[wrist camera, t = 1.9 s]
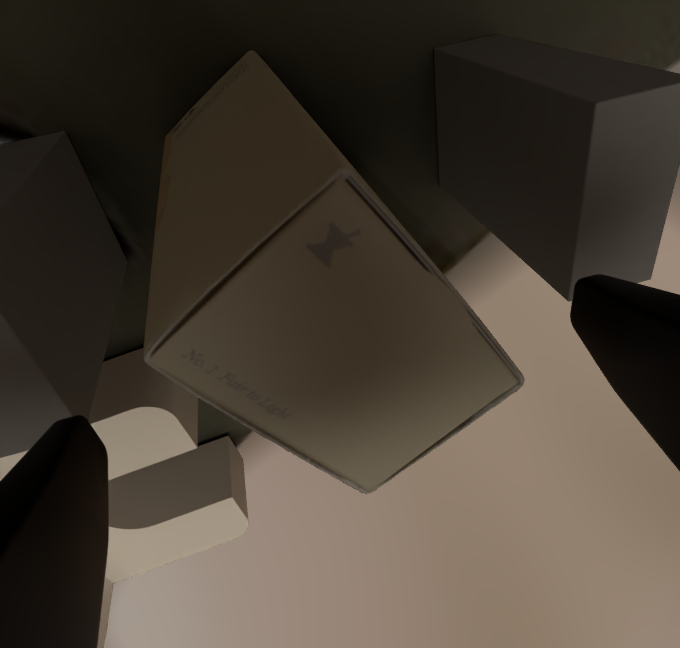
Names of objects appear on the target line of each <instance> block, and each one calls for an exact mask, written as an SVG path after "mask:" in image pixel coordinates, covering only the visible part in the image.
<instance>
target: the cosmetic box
mask: <svg viewBox="0 0 680 648" xmlns="http://www.w3.org/2000/svg"><path fill="white" fill-rule="evenodd" d="M143 359H144V362H145V363H147V364H148V365H149V366H151V367H152V368H153V369H155V370H156V371H158V372H160V373H161V374H163V375H164V376H166V377H167V378H169V379H170V380H172V381H173V382H175V383H176V384H178V385H180V386H181V387H183V388H184V389H186V390H187V391H189V392H190V393H192V394H193V395H195V396H196V397H198V398H200V399H202V400H203V401H205V402H206V403H208V404H210V405H212V406H213V407H215V408H216V409H218V410H220V411H221V412H223V413H224V414H226V415H228V416H230V417H232V418H233V419H235V420H237V421H238V422H240V423H241V424H243V425H244V426H246V427H248V428H250V429H251V430H253V431H254V432H256V433H258V434H259V435H261V436H263V437H264V438H267V439H269V440H271V441H272V442H274V443H276V444H278V445H279V446H281V447H282V448H284V449H285V450H286V451H288V452H291V453H293V454H294V455H296V456H298V457H299V458H301V459H303V460H305V461H306V462H308V463H310V464H311V465H313V466H315V467H316V468H318V469H320V470H322V471H324V472H326V473H328V474H330V475H331V476H333V477H334V478H336V479H338V480H340V481H342V482H343V483H345V484H347V485H349V486H351V487H353V488H354V489H356V490H358V491H360V492H362V493H365V494H367V493H371V492H373V491H375V490H376V489H378V488H379V487H381V486H382V485H384V484H385V483H387V482H388V481H389V480H391V479H392V478H394V477H395V476H396V475H398V474H399V473H400V472H401V471H403V470H405V469H406V468H408V467H409V466H411V465H412V464H414V463H415V462H416V461H418V460H419V459H421V458H422V457H424V456H425V455H427V454H428V453H430V452H431V451H432V450H433V449H435V448H437V447H438V446H440V445H441V444H443V443H444V442H445V441H446V440H448V439H449V438H451V437H452V436H454V435H455V434H457V433H458V432H460V431H461V430H462V429H464V428H465V427H467V426H468V425H469V424H471V423H472V422H473V421H475V420H476V419H478V418H479V417H481V416H482V415H483V414H485V413H486V412H487V411H489V410H490V409H492V408H493V407H495V406H496V405H498V404H499V403H501V401H503V400H505V399H506V398H507V397H509V396H510V395H511V394H513V393H514V392H516V391H517V390H518V389H519V388H520V387H521V386H522V385H523V383H524V377H523V375H522V373H521V372H520V370H519V369H518V368H517V367H516V365H515V364H514V363H513V361H512V360H511V359H510V357H509V356H508V355H507V353H506V352H505V351H504V349H503V348H502V347H501V345H500V344H499V343H498V342H497V340H496V339H495V338H494V337H493V335H492V334H491V333H490V331H489V330H488V329H487V327H486V326H485V325H484V324H483V322H482V321H481V320H480V319H479V317H478V316H477V315H476V314H475V312H474V311H473V310H472V309H471V307H470V306H469V305H468V304H467V302H466V301H465V300H464V299H463V297H462V296H461V295H460V294H459V293H458V291H457V290H456V289H455V288H454V287H453V286H452V284H451V283H450V282H449V281H448V279H447V278H446V277H445V276H444V275H443V273H442V272H441V271H440V270H439V269H438V267H437V266H436V265H435V264H434V263H433V262H432V260H431V259H430V258H429V257H428V256H427V254H426V253H425V252H424V251H423V250H422V248H421V247H420V246H419V245H418V244H417V242H416V241H415V240H414V239H413V238H412V236H411V235H410V234H409V233H408V232H407V231H406V229H405V228H404V227H403V226H402V225H401V223H400V222H399V221H398V220H397V219H396V217H395V216H394V215H393V214H392V213H391V211H390V210H389V209H388V208H387V207H386V205H385V204H384V203H383V202H382V201H381V200H380V198H379V197H378V196H377V195H376V194H375V192H374V191H373V190H372V189H371V188H370V186H369V185H368V184H367V183H366V182H365V180H364V179H363V178H362V177H361V176H360V174H359V173H358V172H357V171H356V170H355V168H354V167H353V166H352V165H351V164H350V162H349V161H348V160H347V159H346V158H345V157H344V155H343V154H342V153H341V152H340V151H339V149H338V148H337V147H336V146H335V145H334V144H333V142H332V141H331V140H330V139H329V138H328V136H327V135H326V134H325V133H324V132H323V131H322V129H321V128H320V127H319V126H318V125H317V124H316V122H315V121H314V120H313V119H312V118H311V117H310V115H309V114H308V113H307V112H306V111H305V109H304V108H303V107H302V106H301V105H300V103H299V102H298V101H297V100H296V99H295V97H294V96H293V95H292V94H291V93H290V91H289V90H288V89H287V88H286V87H285V85H284V84H283V83H282V82H281V81H280V80H279V78H278V77H277V76H276V75H275V74H274V72H273V71H272V70H271V69H270V68H269V67H268V65H267V64H266V63H265V62H264V61H263V60H262V59H261V57H260V56H259V55H258V54H257V53H256V52H255V51H254V50H250V51H248V52H247V53H246V54H245V55H244V56H243V57H242V58H241V59H240V60H239V61H238V62H237V63H236V64H235V65H234V66H233V67H232V68H231V69H230V70H229V71H228V72H227V73H226V74H225V75H224V76H223V77H222V78H221V79H220V80H219V81H217V82H216V83H215V84H214V85H213V86H212V88H211V89H210V90H209V91H208V92H207V93H206V94H205V95H204V96H203V97H202V98H201V99H200V100H199V101H198V102H197V103H196V104H195V105H194V106H193V107H192V108H191V109H190V110H189V111H188V112H187V113H186V115H185V116H184V117H183V118H182V119H181V120H180V121H179V122H178V123H177V124H176V126H175V127H174V128H173V129H172V130H171V131H170V132H169V133H168V134H167V136H166V137H165V140H164V149H163V159H162V168H161V178H160V188H159V196H158V204H157V215H156V224H155V234H154V246H153V255H152V265H151V275H150V287H149V296H148V309H147V318H146V326H145V338H144V349H143Z"/></svg>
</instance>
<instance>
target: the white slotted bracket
mask: <svg viewBox="0 0 680 648" xmlns="http://www.w3.org/2000/svg"><path fill="white" fill-rule="evenodd" d="M143 349H144V348H141V349H138V350H135V351H133V352H130V353H127V354H124V355H121V356H119V357H116V358H113V359H110V360H107V361H105V362H103V364H102V368H101V372H100V376H99V380H98V384H97V388H96V392H95V396H94V400H93V404H92V408H91V412H90V416H89V423H90V424H91V426H92V427H93V429H94V430H95V432H96V433H97V435H98V436H99V438H100V439H101V441H102V442H103V443H104V445H105V447H106V450H107V454H108V497H109V541H108V553H107V563H106V572H105V581H104V590H103V600H102V609H101V618H100V627H99V636H98V645H97V648H103V647H104V642H105V638H106V633H107V626H108V618H109V611H110V604H111V596H112V590H113V584H114V583H116V582H119V581H122V580H125V579H127V578H130V577H133V576H135V575H138V574H141V573H143V572H146V571H149V570H152V569H155V568H157V567H160V566H162V565H165V564H168V563H171V562H174V561H176V560H179V559H182V558H184V557H187V556H190V555H193V554H195V553H198V552H201V551H204V550H206V549H209V548H211V547H215V546H217V545H220V544H223V543H225V542H228V541H231V540H234V539H236V538H238V537H239V536H241V535H242V534H243V533H244V532H245V531H246V530H247V528H248V512H247V501H246V490H245V477H244V466H243V459H242V457H241V455H240V454H239V452H238V450H237V449H236V447H235V446H234V444H233V442H232V441H231V439H230V438H229V436H226V437H223V438H220V439H217V440H215V441H212V442H209V443H206V444H204V445H201V446H198V397H196V396H195V395H193V394H192V393H190V392H189V391H187V390H186V389H184V388H183V387H181V386H180V385H178V384H176V383H175V382H173V381H172V380H170V379H169V378H167V377H166V376H164V375H163V374H161V373H160V372H158V371H156V370H155V369H153V368H152V367H151V366H149V365H148V364H147V363H145V362H144V359H143ZM28 451H29V450H28ZM28 451H24V452H21V453H17V454H13V455H10V456H6V457H3V458H0V481H1V480H2V479H3V478H4V477H5V476H6V474H7V473H8V472H9V471H10V470H11V469H12V468H13V467H14V466H15V465H16V464H17V463H18V461H19V460H20V459H21V458H22V457H23V456H24V455H25V454H26V453H27V452H28Z"/></svg>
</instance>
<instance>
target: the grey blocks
mask: <svg viewBox="0 0 680 648" xmlns="http://www.w3.org/2000/svg"><path fill="white" fill-rule="evenodd" d="M434 68H435V92H436V116H437V140H438V164H439V185H440V186H441V187H442V188H443V189H444V190H445V191H446V192H448V193H449V194H450V195H451V196H452V197H453V198H454V199H455V200H456V201H458V202H459V203H460V204H461V205H462V206H463V207H464V208H465V209H466V210H468V211H469V212H470V213H471V214H472V215H473V216H474V217H475V218H476V219H478V220H479V221H480V222H481V223H482V224H483V225H484V226H485V227H486V228H487V229H489V230H490V231H491V232H492V233H493V234H494V235H495V236H496V237H497V238H499V239H500V240H501V241H502V242H503V243H504V244H505V245H506V246H507V247H509V248H510V249H511V250H512V251H513V252H514V253H515V254H516V255H517V256H519V257H520V258H521V259H522V260H523V261H524V262H525V263H526V264H527V265H528V266H530V267H531V268H532V269H533V270H534V271H535V272H536V273H537V274H539V275H540V276H541V277H542V278H543V279H544V280H545V281H546V282H547V283H548V284H550V285H551V286H552V287H553V288H554V289H555V290H556V291H557V292H558V293H560V294H561V295H562V296H563V297H564V298H565V299H566V300H567V301H572V299H573V292H574V286H575V283H576V282H577V280H579V279H581V278H584V277H587V276H591V275H595V274H604V275H607V276H611V277H615V278H619V279H622V280H626V281H630V282H634V283H639V282H643V281H646V280H649V279H651V276H652V272H653V268H654V264H655V260H656V256H657V252H658V248H659V244H660V240H661V236H662V232H663V228H664V224H665V220H666V216H667V213H668V209H669V205H670V201H671V197H672V193H673V189H674V185H675V181H676V177H677V173H678V169H679V165H680V74H679V73H674V72H670V71H665V70H660V69H656V68H651V67H647V66H642V65H637V64H633V63H628V62H624V61H619V60H614V59H610V58H605V57H601V56H596V55H591V54H587V53H582V52H578V51H573V50H569V49H564V48H559V47H555V46H550V45H546V44H541V43H536V42H532V41H527V40H523V39H518V38H513V37H509V36H504V35H500V34H495V35H490V36H486V37H482V38H477V39H473V40H468V41H464V42H459V43H455V44H450V45H446V46H441V47H437V48H434ZM127 263H128V262H127V260H126V258H125V255H124V253H123V251H122V249H121V247H120V245H119V243H118V241H117V239H116V237H115V234H114V232H113V230H112V228H111V226H110V224H109V222H108V220H107V218H106V216H105V213H104V211H103V209H102V207H101V205H100V203H99V201H98V199H97V197H96V195H95V192H94V190H93V188H92V186H91V184H90V182H89V180H88V178H87V176H86V174H85V171H84V169H83V167H82V165H81V163H80V161H79V159H78V157H77V155H76V153H75V150H74V148H73V146H72V144H71V142H70V140H69V138H68V136H67V134H66V132H65V131H60V132H55V133H51V134H46V135H42V136H38V137H33V138H29V139H24V140H20V141H15V142H11V143H6V144H2V145H0V458H3V457H6V456H10V455H13V454H17V453H21V452H24V451H28V450H29V449H30V448H31V447H32V446H33V445H34V444H35V443H36V442H37V441H38V440H39V439H40V438H41V436H42V435H43V434H44V433H45V432H46V431H47V430H48V429H49V428H50V427H51V426H52V425H53V424H54V423H55V422H56V421H58V420H61V419H64V418H68V417H72V416H76V415H82V416H84V417H85V418H86V419H87V420H88V421H89V416H90V412H91V408H92V404H93V400H94V396H95V392H96V388H97V384H98V380H99V376H100V372H101V368H102V364H103V360H104V356H105V352H106V348H107V344H108V340H109V336H110V332H111V328H112V324H113V320H114V316H115V311H116V307H117V303H118V299H119V295H120V291H121V287H122V283H123V279H124V275H125V271H126V267H127Z"/></svg>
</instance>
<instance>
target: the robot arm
mask: <svg viewBox="0 0 680 648" xmlns="http://www.w3.org/2000/svg"><path fill="white" fill-rule="evenodd" d="M570 318H571V323H572V325H573V328H574V329H575V331H576V332H577V334H578V336H579V337H580V338H581V340H582V341H583V343H584V345H585V346H586V348H587V349H588V351H589V352H590V354H591V356H592V357H593V359H594V360H595V362H596V363H597V365H598V366H599V368H600V370H601V371H602V373H603V374H604V376H605V377H606V379H607V380H608V382H609V383H610V385H611V386H612V388H613V389H614V391H615V392H616V393H617V394H618V396H619V397H620V398H621V399H622V401H623V402H624V403H625V405H626V406H627V407H628V408H629V409H630V411H631V412H632V413H633V414H634V416H635V417H636V418H637V419H638V421H639V422H640V423H641V424H642V425H643V427H644V428H645V429H646V430H647V432H648V433H649V434H650V435H651V437H652V438H653V439H654V440H655V441H656V443H657V444H658V445H659V446H660V448H662V450H663V451H664V453H665V454H666V455H667V456H668V457H669V459H670V460H671V461H672V462H673V463H674V465H675V466H676V467H677V469H678V470H679V471H680V295H678V294H674V293H671V292H667V291H663V290H660V289H656V288H652V287H648V286H645V285H641V284H637V283H634V282H630V281H626V280H622V279H619V278H615V277H611V276H607V275H604V274H595V275H591V276H587V277H584V278H581V279H579V280H577V282H576V283H575V286H574V292H573V299H572V306H571V313H570ZM108 541H109V497H108V454H107V450H106V447H105V445H104V443H103V442H102V441H101V439H100V438H99V436H98V435H97V433H96V432H95V430H94V429H93V427H92V426H91V424H90V423H89V421H88V420H87V419H86V418H85V417H84V416H82V415H76V416H72V417H68V418H64V419H61V420H58V421H56V422H55V423H54V424H53V425H52V426H51V427H50V428H49V429H48V430H47V431H46V432H45V433H44V434H43V435H42V436H41V438H40V439H39V440H38V441H37V442H36V443H35V444H34V445H33V446H32V447H31V448H30V449H29V451H28V452H27V453H26V454H25V455H24V456H23V457H22V458H21V459H20V460H19V461H18V463H17V464H16V465H15V466H14V467H13V468H12V469H11V470H10V471H9V472H8V473H7V474H6V476H5V477H4V478H3V479H2V480H1V481H0V648H97V645H98V636H99V627H100V618H101V609H102V600H103V590H104V581H105V572H106V563H107V553H108Z"/></svg>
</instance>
